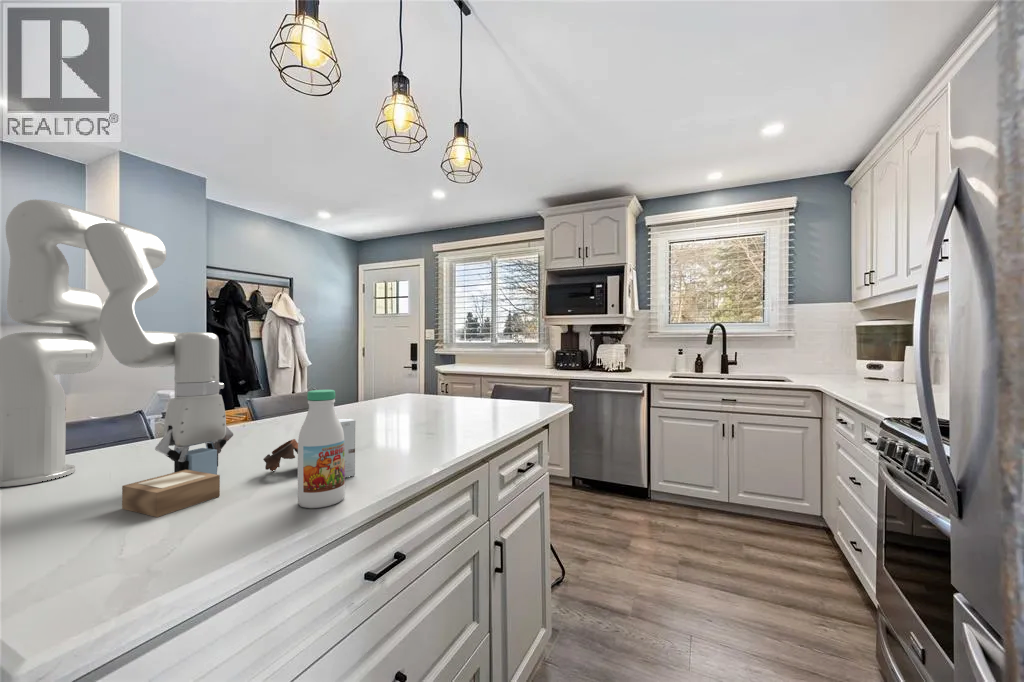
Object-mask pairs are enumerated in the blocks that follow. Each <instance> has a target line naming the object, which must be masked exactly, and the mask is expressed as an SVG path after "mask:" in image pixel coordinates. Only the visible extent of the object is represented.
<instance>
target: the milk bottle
mask: <svg viewBox="0 0 1024 682" xmlns="http://www.w3.org/2000/svg"><path fill="white" fill-rule="evenodd" d="M306 398H307V404H308V410H307V414H306V417H305V419H304V421H303V423H302V426H301V427H300V430H299V434H298V439H297V440H298V441H297V443H298V454H297V504H298V506H300V507H301V508H306V509H319V508H325V507H329V506H333V505H336V504H339V503H340V502H341V501H342V500H344V497H345V495H346V494H345V493H346V492H345V489H346V487H345V486H346V483H345V482H346V478H345V450H344V433H343V428H342V425H341V423H340V421H339V419H340V418H339V417H338V415H337V412H336V409H335V402H336V391H335V390H334V389H316V390H315V389H313V390H309V391H307V397H306Z"/></svg>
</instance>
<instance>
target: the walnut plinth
mask: <svg viewBox="0 0 1024 682" xmlns="http://www.w3.org/2000/svg"><path fill="white" fill-rule="evenodd" d="M220 477H221V475H220V474H217V475H216V474H210V473H204V472H198V471H191V470H182V471H178V472H171V473H167V474H163V475H159V476H155V477H152V478H151V477H150V478H147V479H143V480H140V481H135V482H132V483H128V484H124V485H121V490H122V492H121V493H122V494H121V497H122V498H121V509H122V510H126V511H129V512H132V513H133V512H134V513H139V514H143V515H147V516H151V517H155V518H159V517H162V516H165V515H168V514H171V513H174V512H177V511H181V510H184V509H186V508H189V507H193V506H195V505H198V504H201V502H202V503H204V501H205V502H206V501H207V500H208V501H210V499H211V500H213V499H212V498H214V499H216V497H217V498H220V497H219V496H220V495H221V493H220V492H221V487H220V486H221V485H220V484H221V481H220V480H221V479H220Z"/></svg>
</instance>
